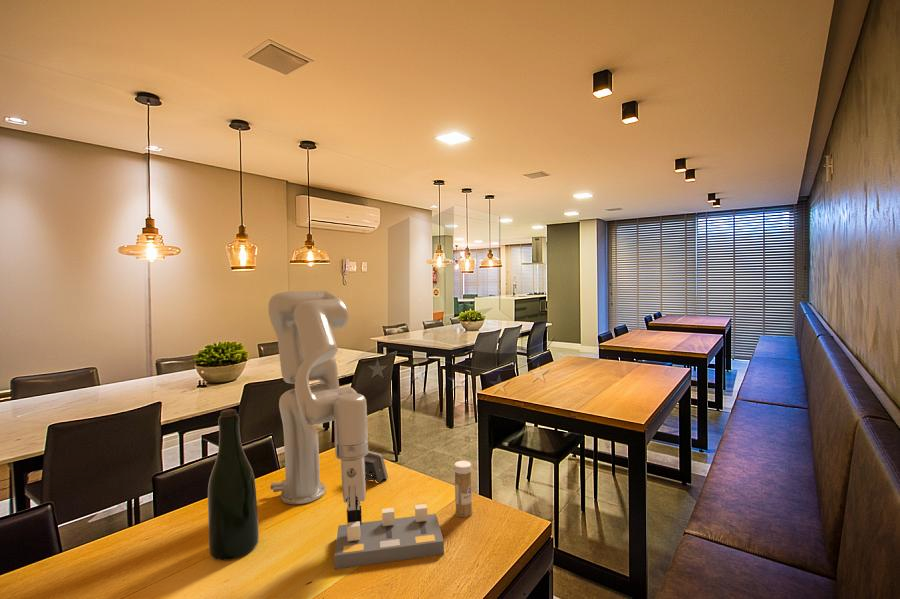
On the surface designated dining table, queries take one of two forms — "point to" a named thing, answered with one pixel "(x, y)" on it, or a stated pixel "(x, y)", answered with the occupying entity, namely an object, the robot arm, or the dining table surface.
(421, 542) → the switch panel
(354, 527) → the slider left
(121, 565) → the dining table surface
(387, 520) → the slider middle
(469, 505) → the sprinkles bottle
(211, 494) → the beer bottle
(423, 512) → the slider right
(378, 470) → the electrical switch
